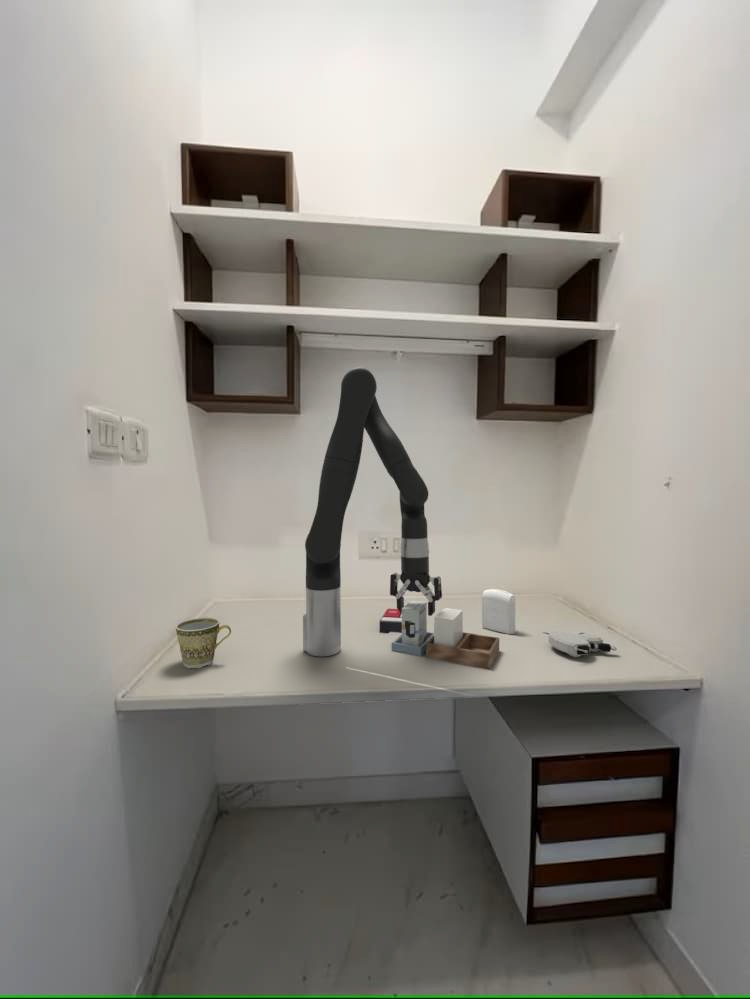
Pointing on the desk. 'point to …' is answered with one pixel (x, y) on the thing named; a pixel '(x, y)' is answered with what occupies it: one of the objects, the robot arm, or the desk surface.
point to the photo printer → (498, 611)
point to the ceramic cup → (198, 640)
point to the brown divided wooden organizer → (467, 650)
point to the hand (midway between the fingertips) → (415, 613)
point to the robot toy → (578, 643)
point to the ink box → (414, 623)
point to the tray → (410, 649)
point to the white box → (448, 627)
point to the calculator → (391, 621)
